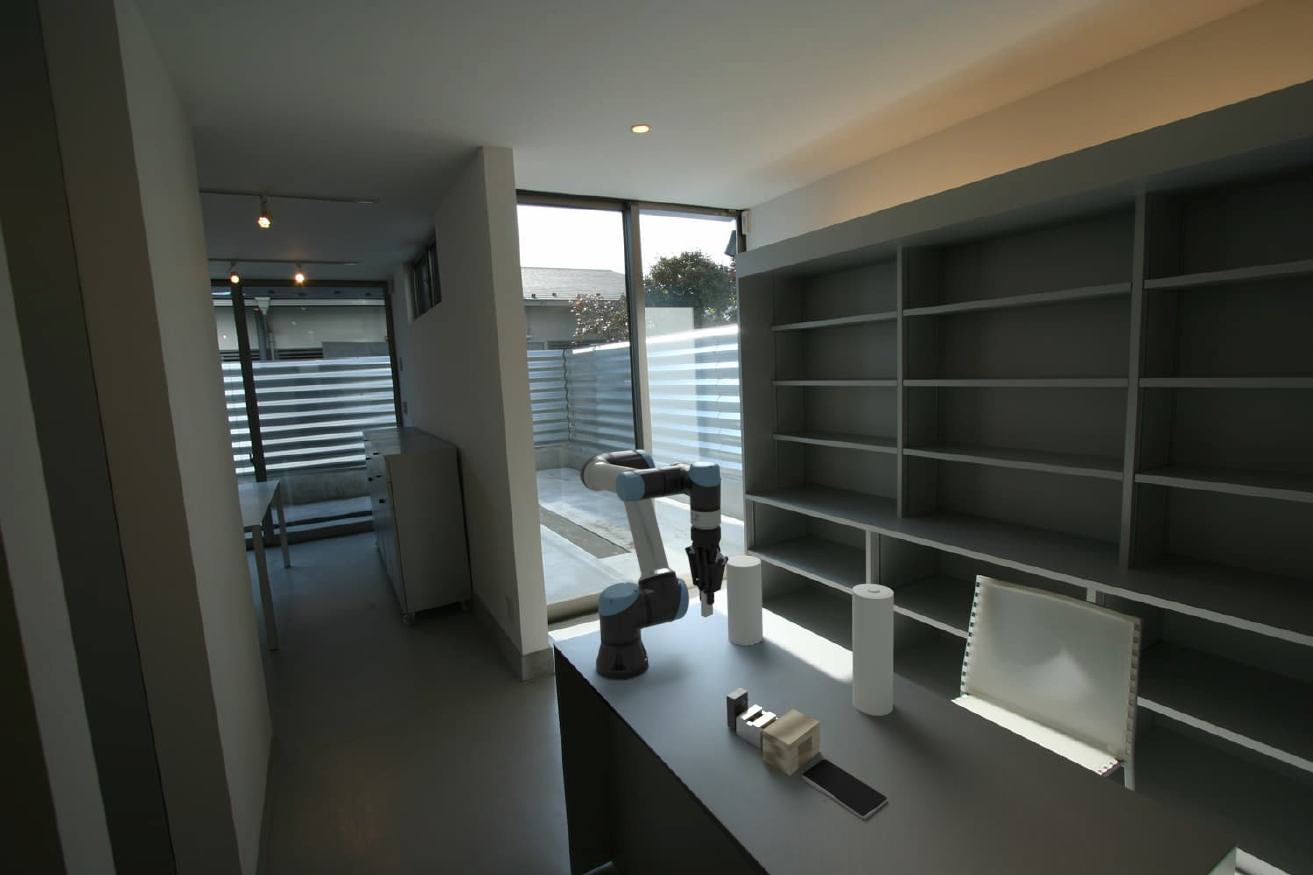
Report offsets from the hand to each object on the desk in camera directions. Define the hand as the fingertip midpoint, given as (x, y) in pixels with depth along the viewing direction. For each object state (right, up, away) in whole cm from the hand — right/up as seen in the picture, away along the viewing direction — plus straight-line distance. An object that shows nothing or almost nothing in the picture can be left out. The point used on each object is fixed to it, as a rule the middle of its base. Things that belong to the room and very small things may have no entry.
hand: (707, 614), depth 150 cm
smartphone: (+25, -27, -30) cm, 47 cm away
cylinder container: (+41, -22, -2) cm, 46 cm away
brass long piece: (+12, -24, -14) cm, 31 cm away
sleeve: (+11, -24, -13) cm, 29 cm away
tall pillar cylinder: (+15, -18, +36) cm, 43 cm away
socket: (+17, -25, -20) cm, 36 cm away
